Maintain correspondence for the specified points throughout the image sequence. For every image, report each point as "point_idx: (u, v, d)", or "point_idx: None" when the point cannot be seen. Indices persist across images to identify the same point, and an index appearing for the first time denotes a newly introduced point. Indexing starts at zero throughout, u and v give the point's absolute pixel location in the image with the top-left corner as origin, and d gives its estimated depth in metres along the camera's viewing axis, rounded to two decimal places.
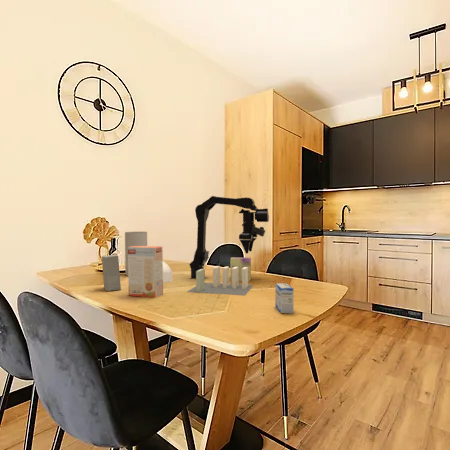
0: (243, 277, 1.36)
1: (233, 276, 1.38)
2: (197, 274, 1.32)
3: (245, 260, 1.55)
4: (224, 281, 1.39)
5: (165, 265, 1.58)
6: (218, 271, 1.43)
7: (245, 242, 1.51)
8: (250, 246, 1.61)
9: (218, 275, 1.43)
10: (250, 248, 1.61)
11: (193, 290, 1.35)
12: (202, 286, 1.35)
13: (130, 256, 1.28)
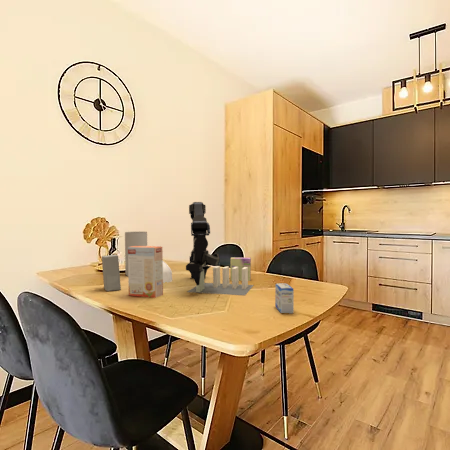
0: (243, 277, 1.36)
1: (233, 276, 1.38)
2: None
3: (245, 260, 1.55)
4: (224, 281, 1.39)
5: (165, 265, 1.58)
6: (218, 271, 1.43)
7: (195, 272, 1.30)
8: None
9: (218, 275, 1.43)
10: None
11: (193, 290, 1.35)
12: (202, 286, 1.35)
13: (130, 256, 1.28)
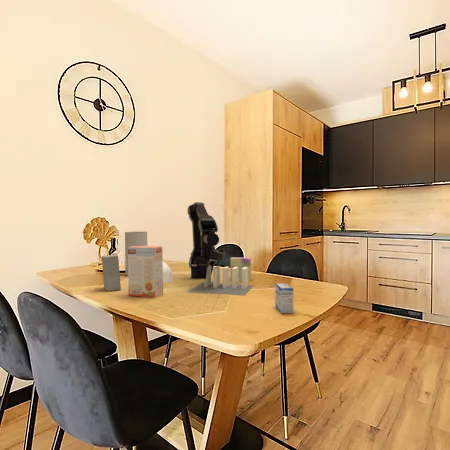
0: (243, 277, 1.36)
1: (233, 276, 1.38)
2: None
3: (245, 260, 1.55)
4: (224, 281, 1.39)
5: (165, 265, 1.58)
6: (218, 271, 1.43)
7: (202, 267, 1.39)
8: None
9: (218, 275, 1.43)
10: None
11: (193, 290, 1.35)
12: (209, 281, 1.45)
13: (130, 256, 1.28)
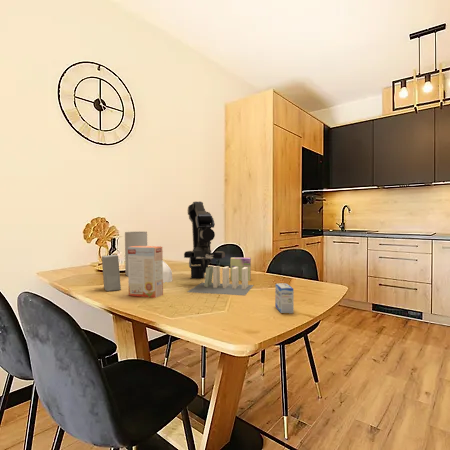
0: (243, 277, 1.36)
1: (233, 276, 1.38)
2: (207, 270, 1.41)
3: (245, 260, 1.55)
4: (224, 281, 1.39)
5: (165, 265, 1.58)
6: (218, 271, 1.43)
7: None
8: None
9: (218, 275, 1.43)
10: None
11: (193, 290, 1.35)
12: (210, 282, 1.44)
13: (130, 256, 1.28)
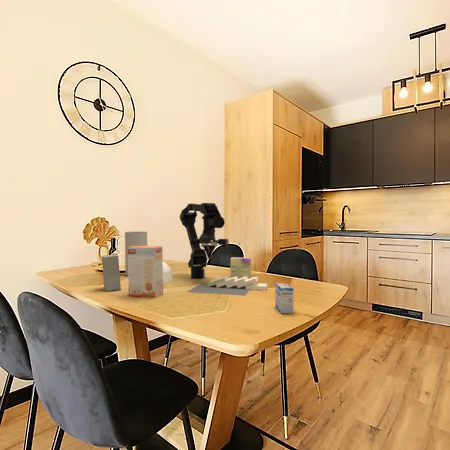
0: (257, 287, 1.35)
1: (248, 282, 1.36)
2: (221, 280, 1.39)
3: (245, 260, 1.55)
4: (232, 284, 1.38)
5: (165, 265, 1.58)
6: None
7: None
8: None
9: None
10: None
11: (193, 290, 1.35)
12: None
13: (130, 256, 1.28)
